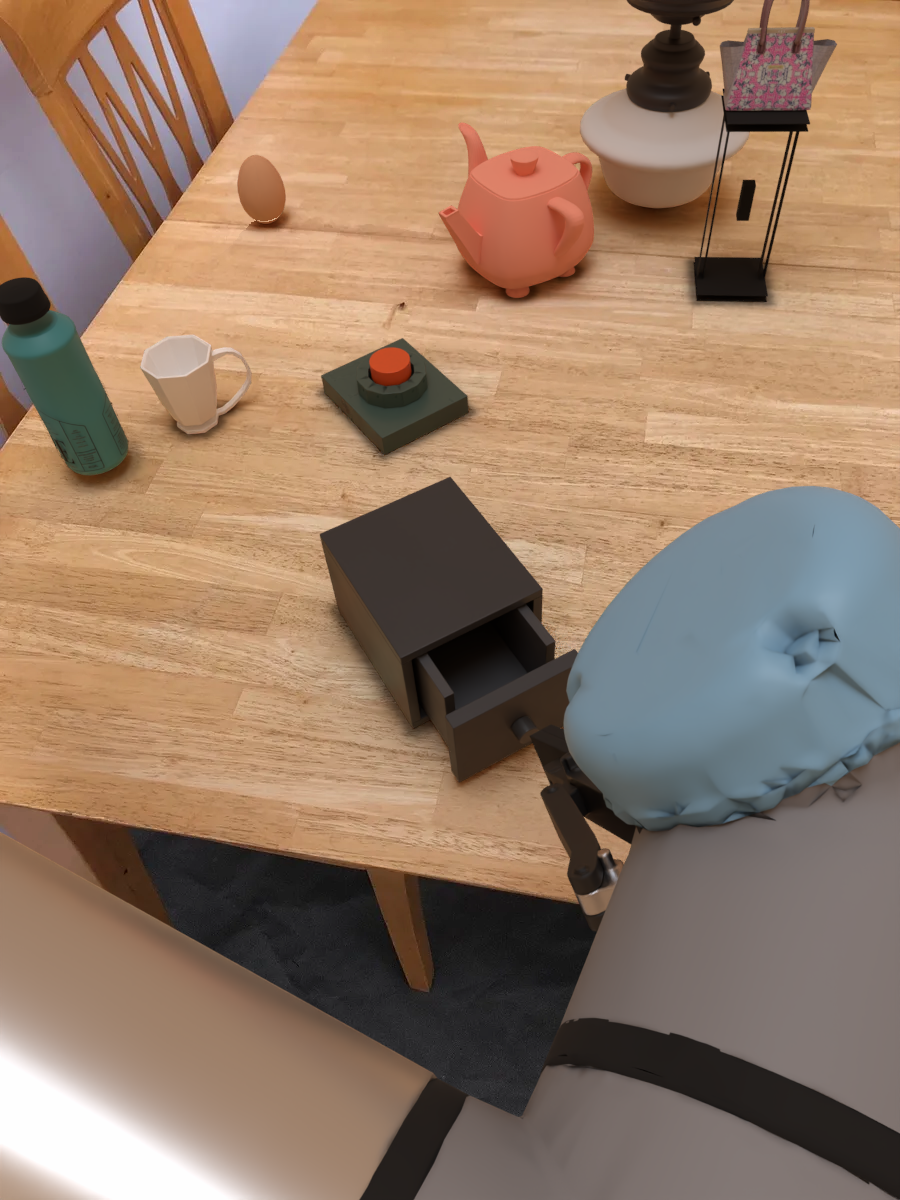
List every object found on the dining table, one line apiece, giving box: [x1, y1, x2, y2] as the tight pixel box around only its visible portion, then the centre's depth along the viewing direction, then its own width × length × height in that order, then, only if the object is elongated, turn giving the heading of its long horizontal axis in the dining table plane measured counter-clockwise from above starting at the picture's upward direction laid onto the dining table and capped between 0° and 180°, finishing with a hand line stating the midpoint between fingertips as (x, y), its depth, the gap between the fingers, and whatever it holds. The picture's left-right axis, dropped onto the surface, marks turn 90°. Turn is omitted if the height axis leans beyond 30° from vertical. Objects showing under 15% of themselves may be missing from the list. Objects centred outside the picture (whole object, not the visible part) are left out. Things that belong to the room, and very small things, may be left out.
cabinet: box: [319, 476, 544, 729], centre depth 72 cm, size 14×12×10 cm
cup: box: [139, 334, 253, 435], centre depth 92 cm, size 7×10×8 cm
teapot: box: [438, 122, 595, 299], centre depth 103 cm, size 16×17×14 cm
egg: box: [236, 154, 287, 225], centre depth 114 cm, size 6×6×8 cm
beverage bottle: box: [0, 277, 130, 476], centre depth 83 cm, size 6×7×20 cm
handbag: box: [693, 0, 838, 303], centre depth 92 cm, size 10×8×30 cm
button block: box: [320, 337, 469, 455], centre depth 93 cm, size 12×10×4 cm
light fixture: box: [579, 0, 751, 209], centre depth 105 cm, size 20×20×25 cm
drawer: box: [411, 604, 579, 783], centre depth 68 cm, size 14×10×8 cm
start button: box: [369, 347, 411, 386], centre depth 91 cm, size 4×4×2 cm
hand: (549, 750), depth 53 cm, fingers closed
